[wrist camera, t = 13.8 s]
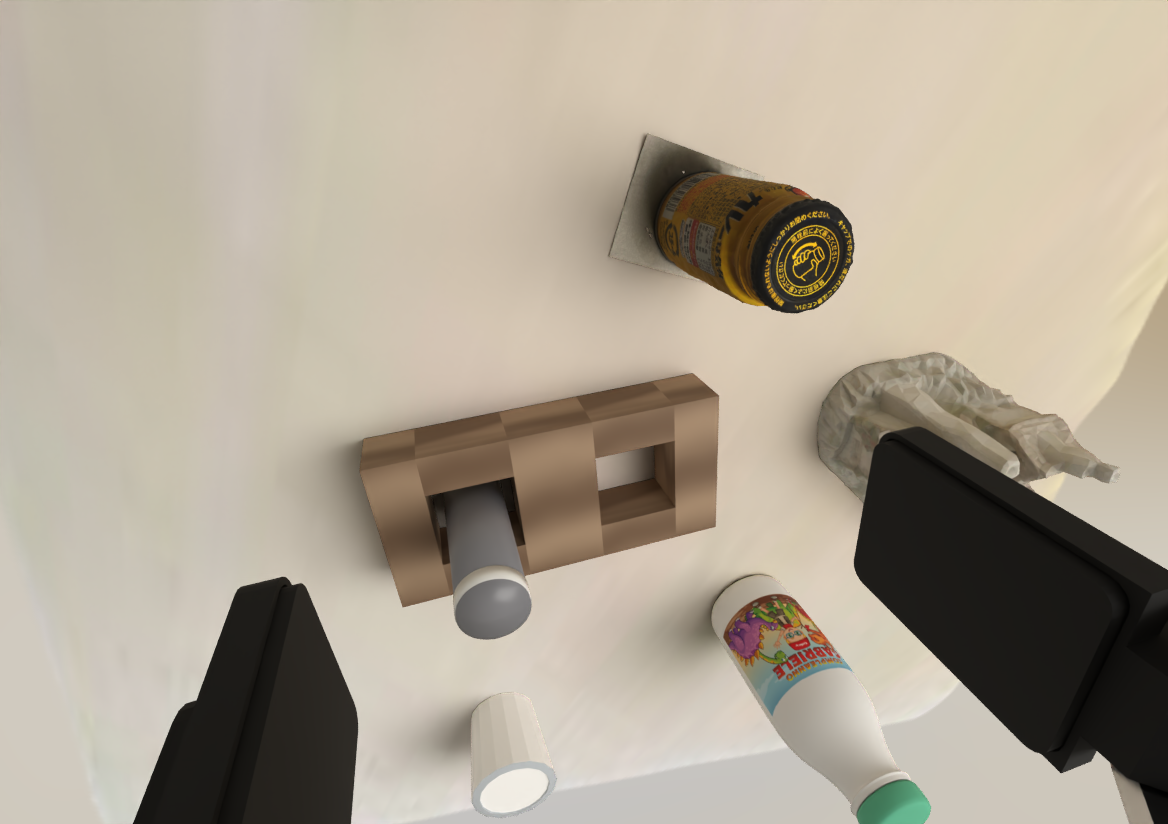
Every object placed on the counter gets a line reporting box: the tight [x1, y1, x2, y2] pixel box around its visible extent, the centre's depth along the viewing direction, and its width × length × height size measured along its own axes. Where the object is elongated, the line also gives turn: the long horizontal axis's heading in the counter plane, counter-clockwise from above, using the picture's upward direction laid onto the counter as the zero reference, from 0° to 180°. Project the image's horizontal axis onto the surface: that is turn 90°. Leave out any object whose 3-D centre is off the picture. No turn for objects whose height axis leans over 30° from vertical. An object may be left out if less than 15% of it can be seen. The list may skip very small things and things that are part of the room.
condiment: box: [609, 134, 854, 313], centre depth 31 cm, size 7×8×12 cm
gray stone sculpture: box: [817, 353, 1120, 503], centre depth 45 cm, size 16×16×15 cm
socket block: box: [359, 374, 719, 607], centre depth 40 cm, size 11×23×4 cm, turn 95°
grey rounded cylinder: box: [443, 480, 532, 639], centre depth 36 cm, size 4×4×12 cm
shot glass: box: [471, 692, 557, 818], centre depth 49 cm, size 7×7×7 cm
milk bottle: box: [711, 575, 931, 824], centre depth 46 cm, size 8×8×20 cm
